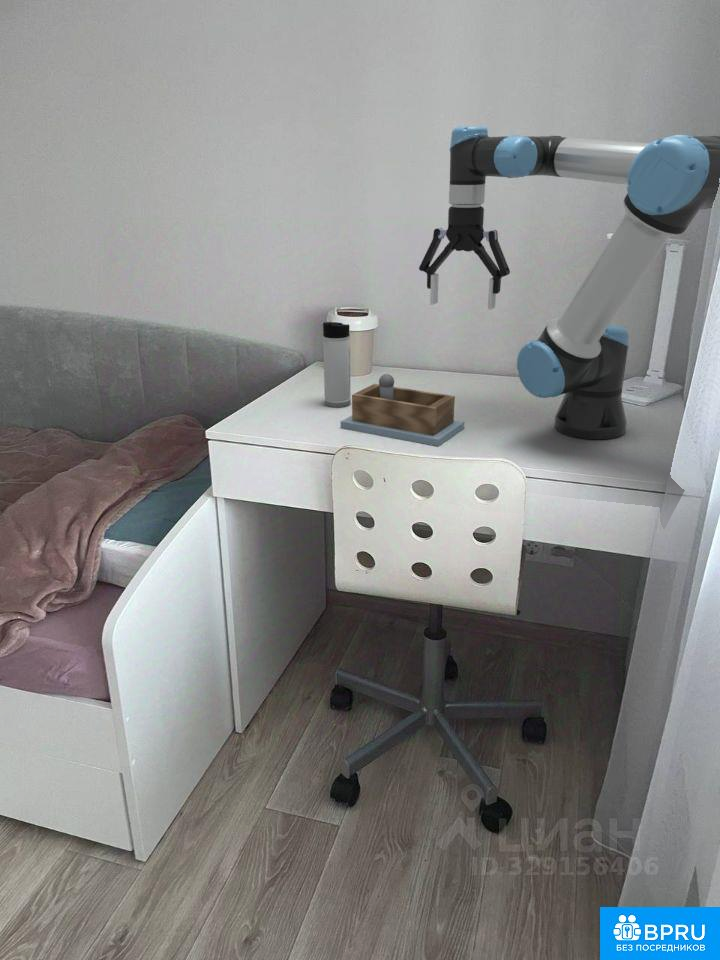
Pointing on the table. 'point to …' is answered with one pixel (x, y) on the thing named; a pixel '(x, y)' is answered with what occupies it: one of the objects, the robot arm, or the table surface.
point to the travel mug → (336, 364)
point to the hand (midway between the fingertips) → (462, 306)
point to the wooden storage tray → (404, 409)
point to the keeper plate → (387, 393)
